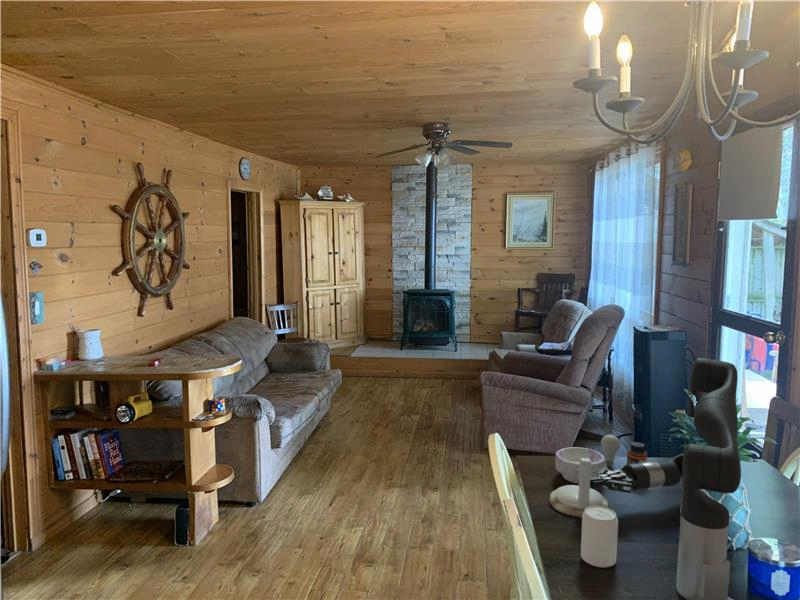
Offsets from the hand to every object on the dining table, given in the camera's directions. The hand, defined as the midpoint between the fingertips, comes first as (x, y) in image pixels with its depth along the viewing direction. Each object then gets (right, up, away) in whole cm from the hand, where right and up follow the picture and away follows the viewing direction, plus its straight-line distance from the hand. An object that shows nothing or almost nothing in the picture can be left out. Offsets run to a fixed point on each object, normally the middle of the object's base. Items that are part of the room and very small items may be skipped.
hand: (588, 482), depth 162 cm
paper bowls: (+5, -6, +24) cm, 26 cm away
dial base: (-1, -8, +6) cm, 11 cm away
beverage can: (-5, -12, -22) cm, 26 cm away
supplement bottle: (+23, -6, +25) cm, 35 cm away
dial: (-1, -7, +6) cm, 9 cm away
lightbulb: (+18, -5, +34) cm, 38 cm away
